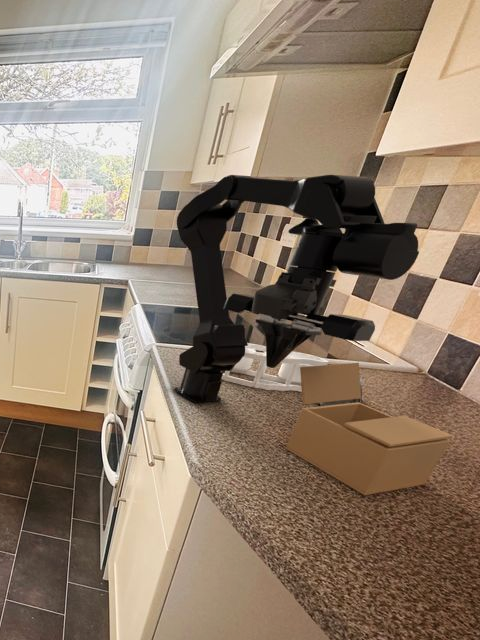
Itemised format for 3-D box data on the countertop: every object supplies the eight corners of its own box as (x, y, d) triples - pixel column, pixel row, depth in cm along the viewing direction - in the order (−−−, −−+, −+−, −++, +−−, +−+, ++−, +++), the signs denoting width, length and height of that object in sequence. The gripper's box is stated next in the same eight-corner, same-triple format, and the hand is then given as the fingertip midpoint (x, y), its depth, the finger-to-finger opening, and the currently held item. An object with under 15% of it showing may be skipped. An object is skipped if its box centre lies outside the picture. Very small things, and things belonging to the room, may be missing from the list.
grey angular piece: (315, 389, 92) (315, 361, 84) (359, 390, 88) (363, 361, 80) (314, 429, 89) (313, 403, 81) (359, 432, 84) (363, 405, 76)
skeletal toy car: (314, 385, 93) (327, 355, 90) (316, 402, 85) (330, 369, 82) (215, 363, 104) (223, 335, 101) (207, 376, 96) (217, 346, 93)
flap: (305, 404, 65) (302, 404, 65) (361, 398, 68) (358, 398, 68) (302, 366, 65) (299, 367, 65) (359, 362, 68) (356, 362, 68)
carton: (285, 448, 68) (304, 403, 65) (339, 441, 71) (360, 397, 68) (364, 495, 58) (391, 444, 54) (424, 484, 61) (454, 435, 57)
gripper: (220, 256, 66) (188, 349, 72) (363, 276, 51) (308, 393, 56) (260, 261, 71) (227, 348, 77) (400, 281, 56) (347, 388, 61)
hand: (270, 367), depth 68 cm, fingers closed
